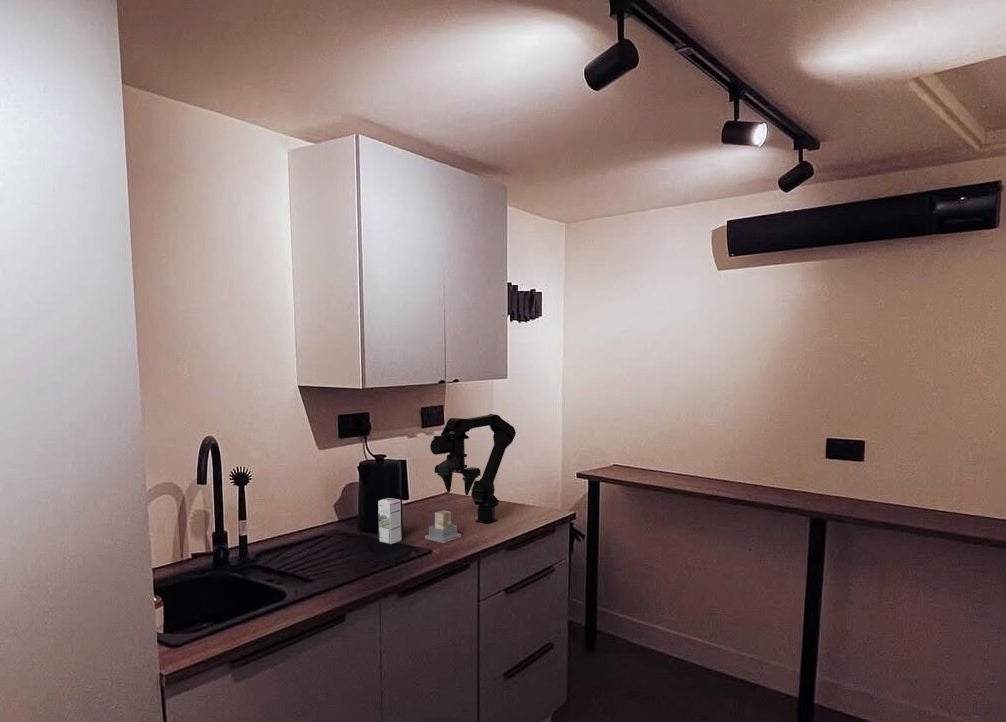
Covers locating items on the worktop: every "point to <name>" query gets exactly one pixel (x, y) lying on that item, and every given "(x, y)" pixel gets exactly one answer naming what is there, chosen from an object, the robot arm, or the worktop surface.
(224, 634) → the worktop surface
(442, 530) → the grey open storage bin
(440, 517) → the beige rectangular block
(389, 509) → the syrup box
